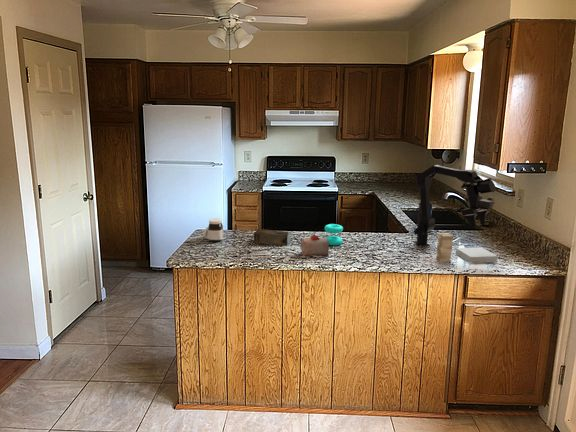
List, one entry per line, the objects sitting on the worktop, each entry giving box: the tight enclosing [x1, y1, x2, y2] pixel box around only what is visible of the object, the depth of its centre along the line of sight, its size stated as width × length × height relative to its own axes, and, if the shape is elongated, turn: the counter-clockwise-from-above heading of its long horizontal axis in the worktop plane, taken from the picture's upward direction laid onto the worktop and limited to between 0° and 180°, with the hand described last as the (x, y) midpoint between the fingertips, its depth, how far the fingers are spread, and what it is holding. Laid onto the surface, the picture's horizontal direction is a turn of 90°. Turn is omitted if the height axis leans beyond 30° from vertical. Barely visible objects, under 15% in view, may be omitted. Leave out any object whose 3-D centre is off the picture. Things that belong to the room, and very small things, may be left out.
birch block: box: [435, 232, 454, 263], centre depth 226 cm, size 5×5×13 cm
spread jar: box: [202, 218, 224, 243], centre depth 252 cm, size 12×11×12 cm
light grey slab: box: [455, 246, 498, 264], centre depth 231 cm, size 14×14×3 cm
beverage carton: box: [253, 228, 292, 246], centre depth 250 cm, size 8×19×7 cm, turn 78°
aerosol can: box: [416, 201, 434, 228], centre depth 280 cm, size 8×8×20 cm
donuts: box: [324, 223, 344, 246], centre depth 250 cm, size 10×10×10 cm
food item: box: [300, 234, 330, 257], centre depth 231 cm, size 14×8×10 cm, turn 98°
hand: (479, 226), depth 225 cm, fingers open, 9 cm apart
